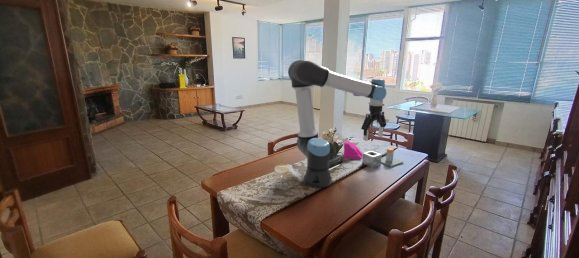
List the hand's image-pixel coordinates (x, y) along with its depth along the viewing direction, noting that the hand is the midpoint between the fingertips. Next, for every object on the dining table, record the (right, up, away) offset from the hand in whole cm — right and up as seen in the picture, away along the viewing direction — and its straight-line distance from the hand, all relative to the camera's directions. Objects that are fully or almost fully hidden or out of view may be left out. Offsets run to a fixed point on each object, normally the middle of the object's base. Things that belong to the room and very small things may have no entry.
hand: (373, 138), depth 167 cm
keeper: (+13, -16, +7) cm, 21 cm away
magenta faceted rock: (-8, -13, +17) cm, 23 cm away
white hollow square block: (0, -16, +4) cm, 17 cm away
